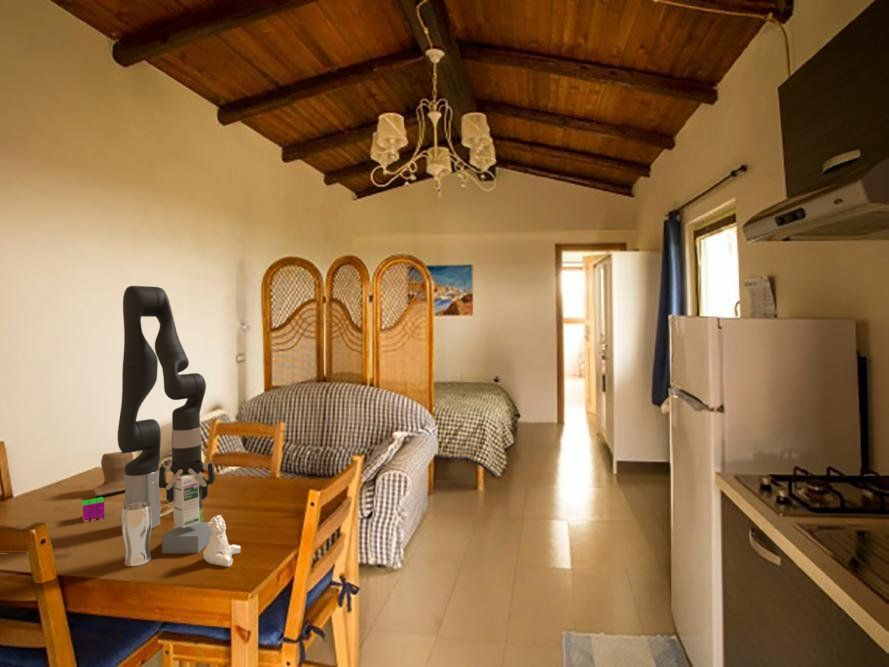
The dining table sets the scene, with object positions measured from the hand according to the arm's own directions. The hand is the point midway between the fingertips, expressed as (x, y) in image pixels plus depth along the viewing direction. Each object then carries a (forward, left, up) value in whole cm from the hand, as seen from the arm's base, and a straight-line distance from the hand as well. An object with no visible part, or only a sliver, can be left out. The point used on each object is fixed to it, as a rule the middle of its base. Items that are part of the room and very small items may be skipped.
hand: (187, 500), depth 146 cm
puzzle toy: (-35, +31, -13) cm, 49 cm away
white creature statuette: (+10, -12, -13) cm, 21 cm away
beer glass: (-11, -7, -13) cm, 19 cm away
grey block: (0, 0, -13) cm, 13 cm away
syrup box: (0, 0, -7) cm, 7 cm away
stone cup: (-38, +59, -13) cm, 71 cm away
